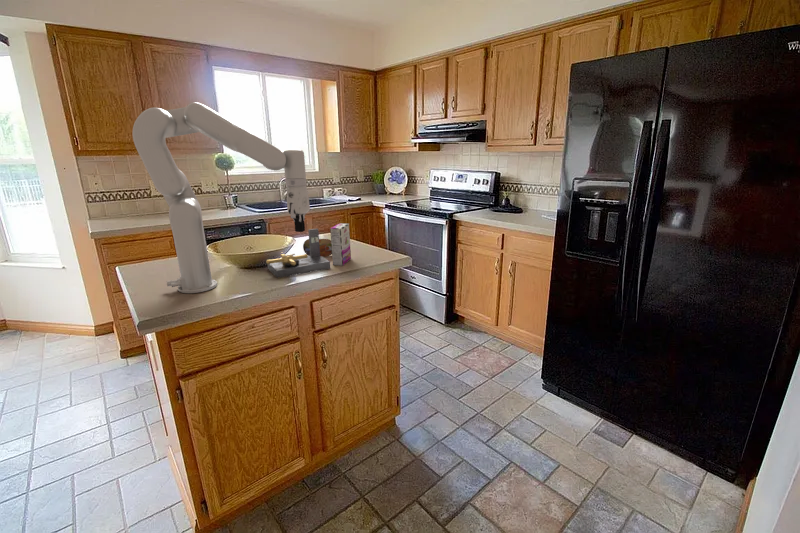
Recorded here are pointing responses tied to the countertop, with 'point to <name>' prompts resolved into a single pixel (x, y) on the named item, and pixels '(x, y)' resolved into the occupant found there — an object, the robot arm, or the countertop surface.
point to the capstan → (288, 259)
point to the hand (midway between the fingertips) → (300, 231)
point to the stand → (303, 260)
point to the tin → (324, 247)
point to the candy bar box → (340, 244)
